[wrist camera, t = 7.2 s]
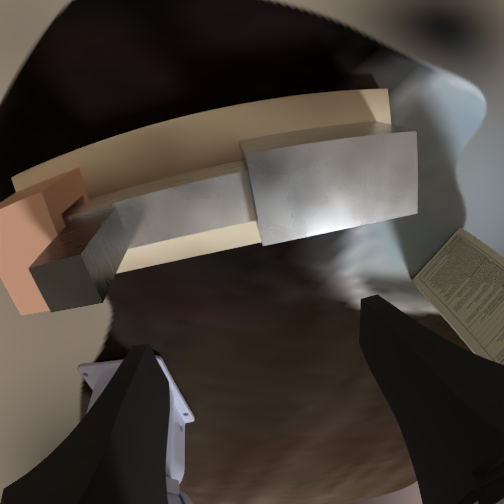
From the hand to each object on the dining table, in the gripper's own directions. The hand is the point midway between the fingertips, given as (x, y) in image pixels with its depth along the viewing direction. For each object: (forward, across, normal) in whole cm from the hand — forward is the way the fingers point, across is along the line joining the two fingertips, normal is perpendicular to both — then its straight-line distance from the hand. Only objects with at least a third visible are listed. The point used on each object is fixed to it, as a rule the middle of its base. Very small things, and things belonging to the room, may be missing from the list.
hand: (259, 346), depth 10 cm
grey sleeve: (+10, -5, -3) cm, 12 cm away
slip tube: (+9, +4, -3) cm, 10 cm away
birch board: (+10, +2, -3) cm, 11 cm away
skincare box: (+11, -16, +7) cm, 20 cm away
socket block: (+9, +10, -3) cm, 14 cm away
